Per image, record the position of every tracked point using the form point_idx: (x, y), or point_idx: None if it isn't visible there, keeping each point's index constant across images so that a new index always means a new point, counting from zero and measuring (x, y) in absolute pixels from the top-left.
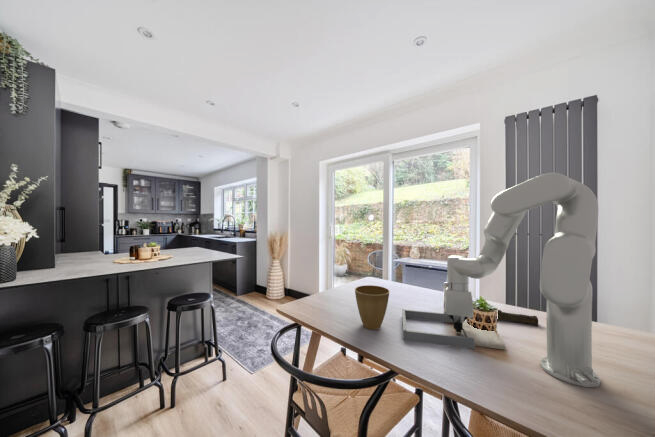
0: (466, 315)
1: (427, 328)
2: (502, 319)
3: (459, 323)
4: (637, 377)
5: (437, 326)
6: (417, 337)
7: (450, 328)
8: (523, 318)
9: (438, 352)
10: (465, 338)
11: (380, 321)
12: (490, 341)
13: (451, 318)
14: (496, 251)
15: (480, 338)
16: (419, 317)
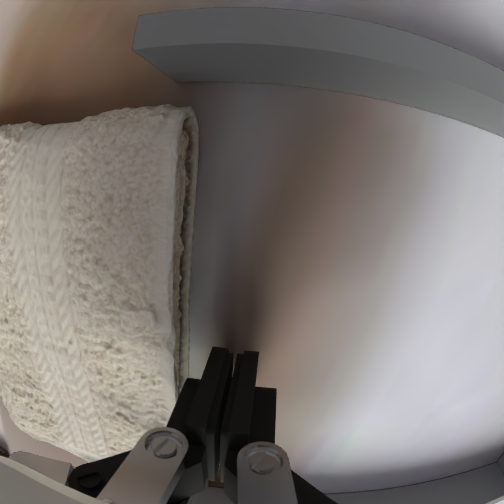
0: (37, 494)
1: (466, 389)
2: (5, 455)
3: (209, 425)
4: None
5: (372, 440)
6: None
7: (276, 432)
8: None
9: (494, 4)
10: (255, 10)
11: None
12: (5, 149)
13: (316, 491)
14: None
15: (54, 174)
16: (437, 488)
